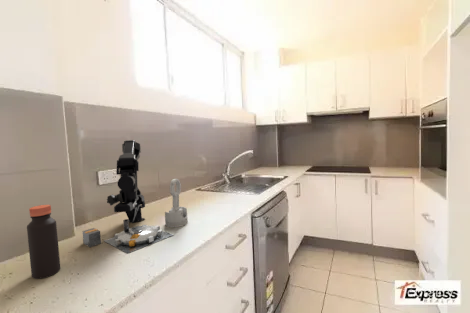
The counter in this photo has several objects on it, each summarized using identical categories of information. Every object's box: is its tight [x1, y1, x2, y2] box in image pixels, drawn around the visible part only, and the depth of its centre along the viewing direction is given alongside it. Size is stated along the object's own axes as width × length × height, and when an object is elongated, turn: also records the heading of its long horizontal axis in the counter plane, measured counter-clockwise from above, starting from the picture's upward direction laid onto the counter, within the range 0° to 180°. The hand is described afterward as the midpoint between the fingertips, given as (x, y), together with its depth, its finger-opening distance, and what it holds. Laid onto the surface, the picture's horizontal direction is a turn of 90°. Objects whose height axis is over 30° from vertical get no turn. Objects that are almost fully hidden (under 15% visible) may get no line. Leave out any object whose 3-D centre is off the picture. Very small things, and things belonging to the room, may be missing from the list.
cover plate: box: [103, 230, 174, 254], centre depth 96 cm, size 19×19×1 cm
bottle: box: [26, 204, 61, 280], centre depth 71 cm, size 7×7×20 cm
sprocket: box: [114, 218, 163, 246], centre depth 96 cm, size 18×18×6 cm
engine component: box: [164, 178, 189, 228], centre depth 112 cm, size 11×20×10 cm
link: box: [82, 227, 102, 248], centre depth 93 cm, size 6×4×5 cm, turn 51°
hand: (131, 222), depth 104 cm, fingers closed
